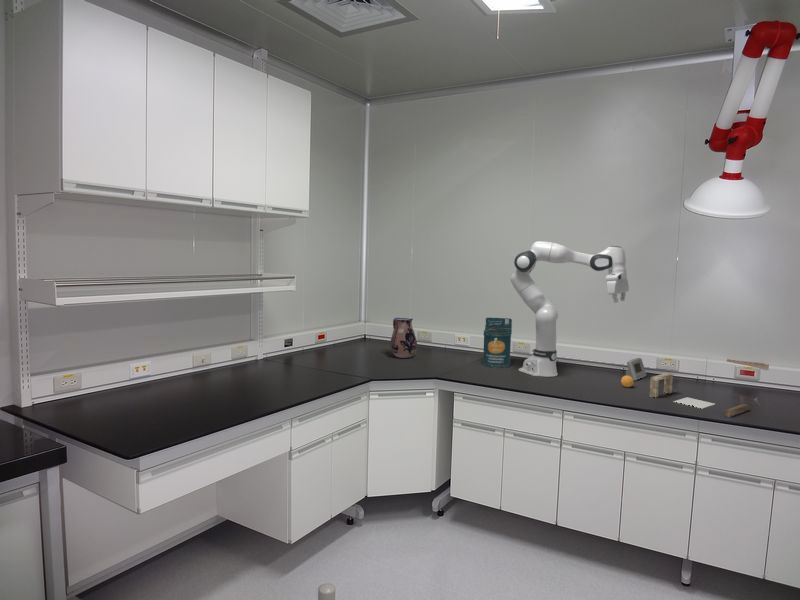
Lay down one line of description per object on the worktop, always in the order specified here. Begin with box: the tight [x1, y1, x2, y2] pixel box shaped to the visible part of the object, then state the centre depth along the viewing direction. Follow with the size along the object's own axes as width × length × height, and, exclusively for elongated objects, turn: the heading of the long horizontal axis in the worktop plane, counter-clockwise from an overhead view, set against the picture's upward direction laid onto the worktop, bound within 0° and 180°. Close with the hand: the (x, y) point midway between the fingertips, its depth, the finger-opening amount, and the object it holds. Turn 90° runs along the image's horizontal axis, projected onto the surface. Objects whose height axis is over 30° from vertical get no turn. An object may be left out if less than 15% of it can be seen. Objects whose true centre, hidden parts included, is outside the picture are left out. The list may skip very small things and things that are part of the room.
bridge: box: [649, 372, 674, 399], centre depth 259 cm, size 3×15×10 cm, turn 125°
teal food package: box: [482, 317, 513, 369], centre depth 321 cm, size 16×16×28 cm
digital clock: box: [625, 357, 647, 382], centre depth 293 cm, size 16×9×11 cm, turn 123°
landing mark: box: [672, 396, 716, 410], centre depth 246 cm, size 13×13×1 cm
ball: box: [620, 375, 635, 388], centre depth 274 cm, size 6×6×6 cm
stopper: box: [723, 403, 749, 418], centre depth 232 cm, size 2×18×2 cm, turn 125°
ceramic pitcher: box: [389, 317, 418, 359], centre depth 343 cm, size 18×21×25 cm
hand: (619, 301), depth 284 cm, fingers open, 8 cm apart
